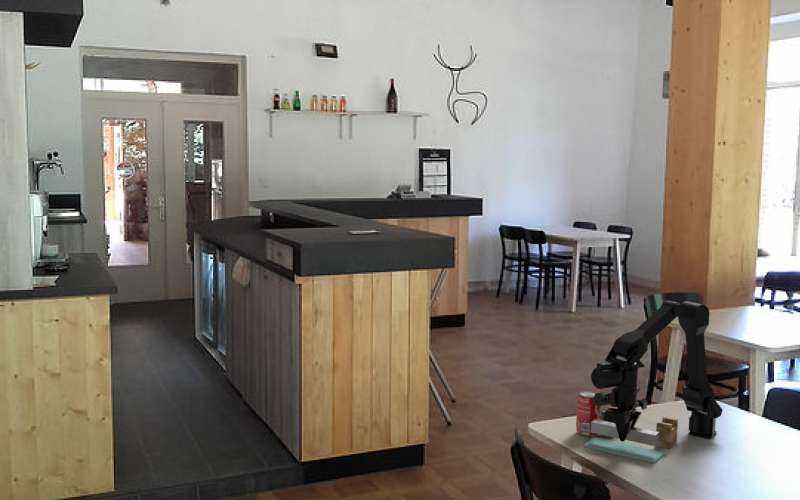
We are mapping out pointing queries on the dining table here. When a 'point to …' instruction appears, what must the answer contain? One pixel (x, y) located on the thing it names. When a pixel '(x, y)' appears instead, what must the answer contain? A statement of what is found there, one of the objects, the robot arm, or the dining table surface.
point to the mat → (624, 449)
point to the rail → (633, 434)
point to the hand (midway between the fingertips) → (624, 439)
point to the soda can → (587, 413)
